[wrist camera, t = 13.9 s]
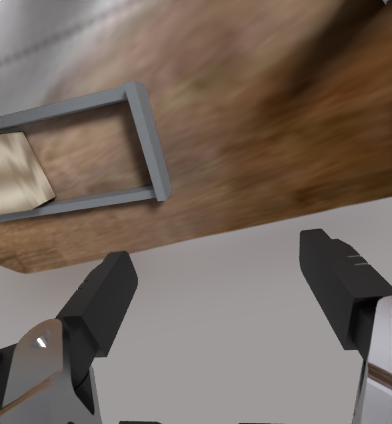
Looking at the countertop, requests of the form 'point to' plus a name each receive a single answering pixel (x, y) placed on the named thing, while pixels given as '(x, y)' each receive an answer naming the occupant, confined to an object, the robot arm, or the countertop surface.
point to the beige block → (20, 176)
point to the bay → (147, 136)
